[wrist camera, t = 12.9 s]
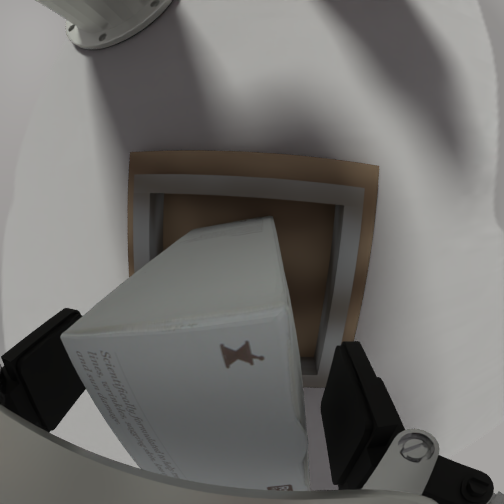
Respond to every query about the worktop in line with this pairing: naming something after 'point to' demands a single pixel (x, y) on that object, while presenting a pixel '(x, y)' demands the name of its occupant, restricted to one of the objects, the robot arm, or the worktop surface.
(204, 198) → the tray
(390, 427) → the robot arm
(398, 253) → the worktop surface
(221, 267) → the skincare box
